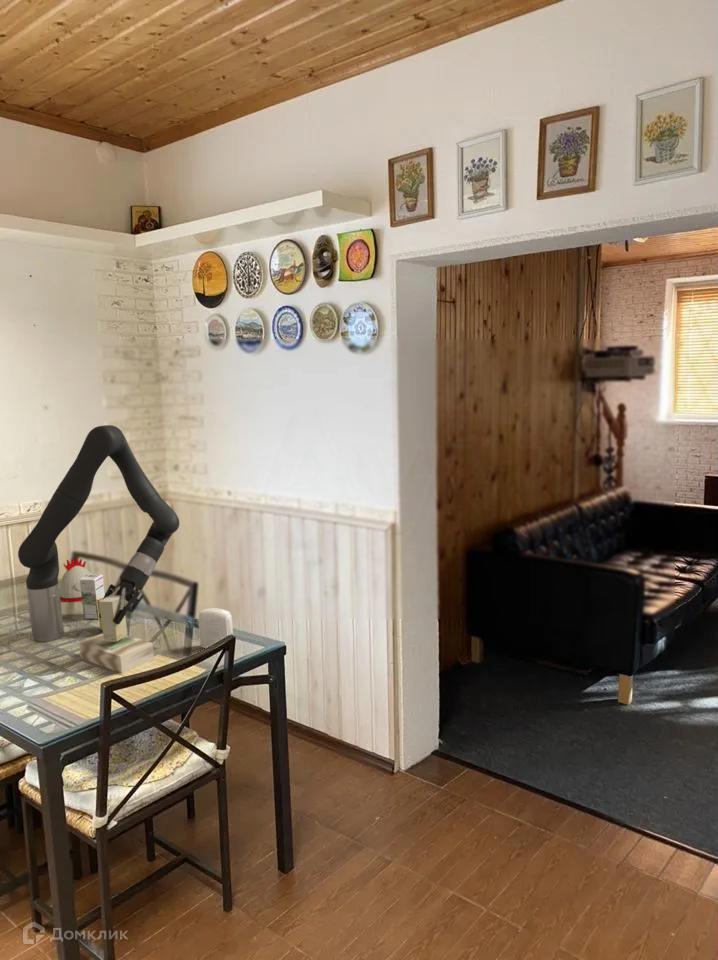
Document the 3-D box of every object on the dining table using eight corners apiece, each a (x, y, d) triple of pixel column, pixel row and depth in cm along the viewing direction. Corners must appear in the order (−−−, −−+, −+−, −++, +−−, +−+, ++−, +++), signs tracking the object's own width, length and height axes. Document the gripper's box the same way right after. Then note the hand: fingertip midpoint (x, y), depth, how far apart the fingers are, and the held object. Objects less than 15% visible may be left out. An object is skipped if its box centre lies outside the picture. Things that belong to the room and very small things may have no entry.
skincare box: (116, 642, 208) (112, 602, 206) (103, 641, 209) (98, 601, 206) (128, 633, 214) (123, 594, 212) (114, 633, 215) (109, 594, 213)
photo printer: (236, 646, 217) (233, 607, 215) (229, 652, 213) (226, 612, 211) (205, 643, 220) (202, 605, 218) (198, 649, 216) (195, 610, 214)
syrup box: (107, 613, 251) (103, 573, 249) (98, 620, 245) (94, 579, 243) (92, 613, 252) (88, 573, 250) (83, 619, 246) (78, 578, 244)
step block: (81, 658, 214) (79, 641, 213) (113, 645, 222) (111, 629, 221) (122, 673, 202) (120, 655, 201) (154, 659, 211) (152, 642, 210)
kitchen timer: (53, 596, 273) (48, 558, 270) (89, 587, 282) (85, 550, 280) (67, 604, 263) (63, 565, 260) (104, 595, 272) (100, 556, 269)
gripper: (115, 561, 218) (84, 610, 211) (145, 567, 209) (114, 619, 202) (132, 573, 223) (102, 622, 216) (161, 580, 214) (132, 631, 207)
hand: (108, 620), depth 209 cm, fingers closed on skincare box, 6 cm apart
